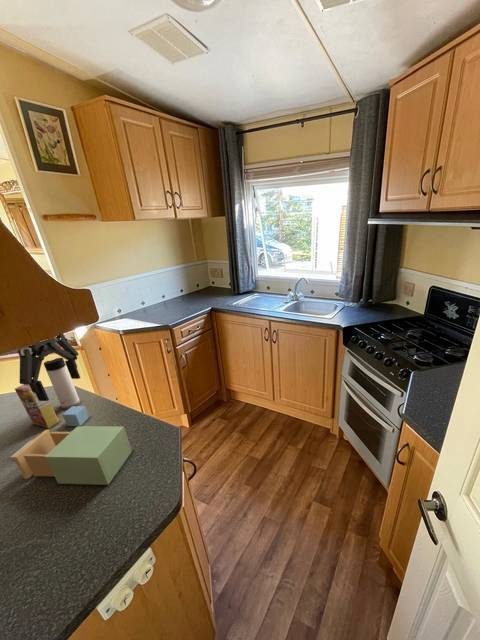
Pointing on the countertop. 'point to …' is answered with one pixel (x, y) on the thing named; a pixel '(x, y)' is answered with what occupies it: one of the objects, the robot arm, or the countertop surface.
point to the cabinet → (89, 455)
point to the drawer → (37, 454)
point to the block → (75, 416)
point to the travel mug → (62, 382)
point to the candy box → (36, 407)
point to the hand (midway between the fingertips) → (61, 388)
